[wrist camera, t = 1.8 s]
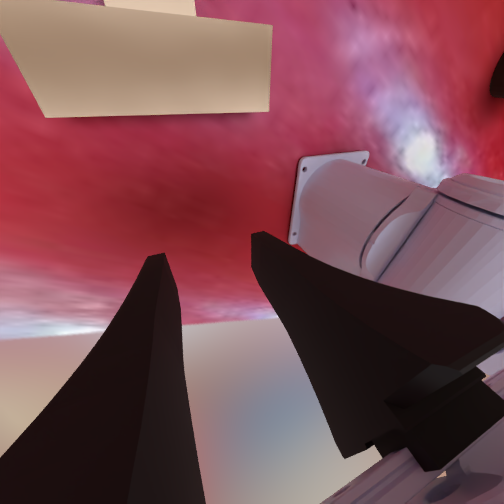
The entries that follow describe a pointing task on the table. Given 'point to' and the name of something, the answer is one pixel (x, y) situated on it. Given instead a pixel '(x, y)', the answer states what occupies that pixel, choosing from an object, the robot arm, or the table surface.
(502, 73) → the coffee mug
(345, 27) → the table surface
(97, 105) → the T block
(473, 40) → the table surface
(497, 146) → the table surface
